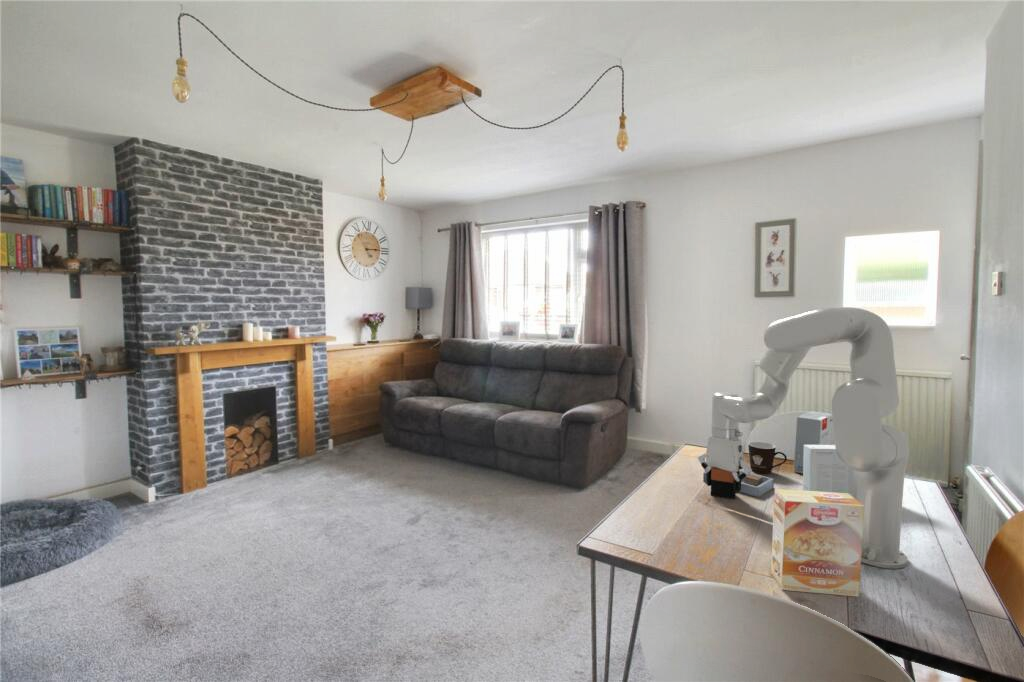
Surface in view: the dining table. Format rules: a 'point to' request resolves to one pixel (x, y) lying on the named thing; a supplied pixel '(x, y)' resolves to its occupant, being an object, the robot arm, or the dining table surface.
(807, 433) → the hard drive box
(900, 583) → the dining table surface
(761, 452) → the coffee mug
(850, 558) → the coffeecake box
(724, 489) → the battery
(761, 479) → the walnut block
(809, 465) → the skincare box
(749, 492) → the bin
